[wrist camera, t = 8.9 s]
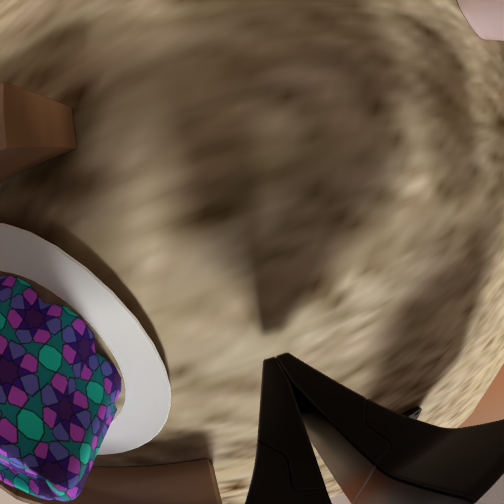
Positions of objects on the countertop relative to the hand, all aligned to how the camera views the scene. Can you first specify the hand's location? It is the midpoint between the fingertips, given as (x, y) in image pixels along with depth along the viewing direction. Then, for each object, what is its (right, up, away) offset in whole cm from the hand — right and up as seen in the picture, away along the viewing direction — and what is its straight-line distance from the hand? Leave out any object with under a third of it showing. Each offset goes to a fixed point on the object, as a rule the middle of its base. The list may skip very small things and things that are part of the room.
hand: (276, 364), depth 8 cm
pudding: (-10, -1, -1) cm, 10 cm away
